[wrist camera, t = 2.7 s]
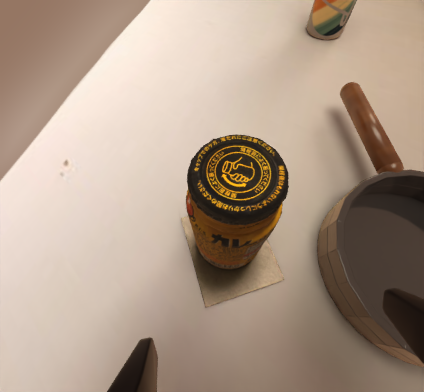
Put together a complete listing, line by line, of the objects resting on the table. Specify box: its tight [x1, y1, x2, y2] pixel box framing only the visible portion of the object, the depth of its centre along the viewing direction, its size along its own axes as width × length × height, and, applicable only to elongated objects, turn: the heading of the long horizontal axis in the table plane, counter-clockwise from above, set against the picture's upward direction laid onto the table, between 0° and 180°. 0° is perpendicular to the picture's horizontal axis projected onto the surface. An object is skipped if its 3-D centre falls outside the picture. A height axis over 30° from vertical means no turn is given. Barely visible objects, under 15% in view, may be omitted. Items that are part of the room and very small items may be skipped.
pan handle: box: [340, 82, 404, 174], centre depth 24 cm, size 12×2×2 cm, turn 5°
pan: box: [317, 170, 424, 367], centre depth 19 cm, size 15×15×4 cm
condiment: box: [181, 135, 289, 307], centre depth 16 cm, size 7×8×12 cm
